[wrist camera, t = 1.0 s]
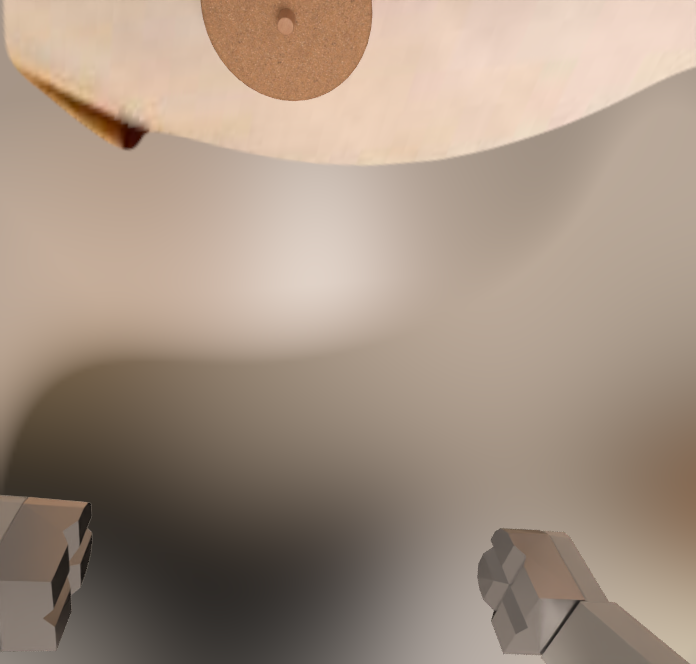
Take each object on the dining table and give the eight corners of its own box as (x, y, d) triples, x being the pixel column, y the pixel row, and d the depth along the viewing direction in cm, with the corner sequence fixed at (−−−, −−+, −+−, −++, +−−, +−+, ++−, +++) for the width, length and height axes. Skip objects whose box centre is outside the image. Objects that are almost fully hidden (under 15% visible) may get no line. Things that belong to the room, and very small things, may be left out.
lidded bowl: (203, 17, 45) (177, 69, 38) (245, -158, 36) (222, -134, 29) (330, 80, 49) (328, 137, 42) (395, -63, 41) (406, -22, 33)
